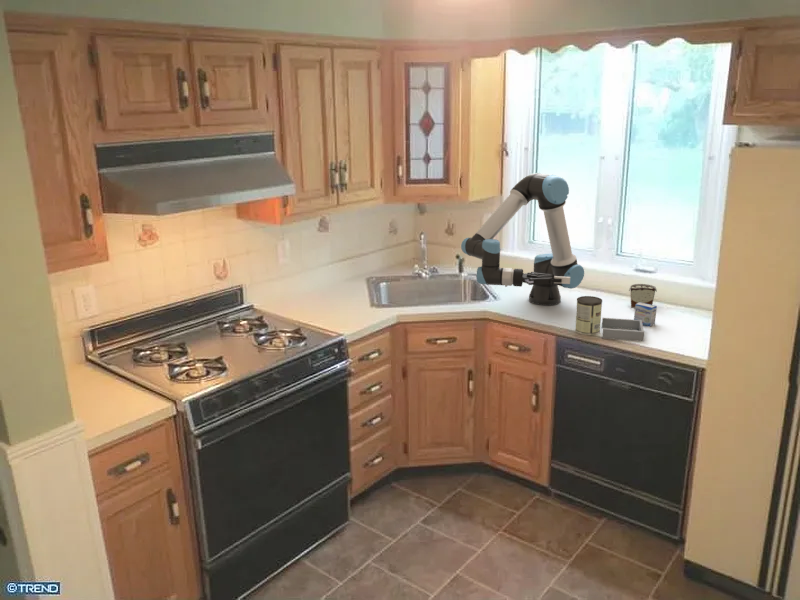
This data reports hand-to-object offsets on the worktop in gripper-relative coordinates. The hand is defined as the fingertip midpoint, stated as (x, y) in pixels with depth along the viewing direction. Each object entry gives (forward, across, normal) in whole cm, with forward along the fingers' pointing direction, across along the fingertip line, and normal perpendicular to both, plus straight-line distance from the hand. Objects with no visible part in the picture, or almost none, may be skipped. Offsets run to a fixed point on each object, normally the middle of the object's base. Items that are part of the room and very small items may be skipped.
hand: (570, 280), depth 285 cm
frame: (+22, 0, -22) cm, 31 cm away
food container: (+32, -41, -22) cm, 57 cm away
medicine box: (+32, -15, -22) cm, 42 cm away
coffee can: (+8, 0, -22) cm, 24 cm away
